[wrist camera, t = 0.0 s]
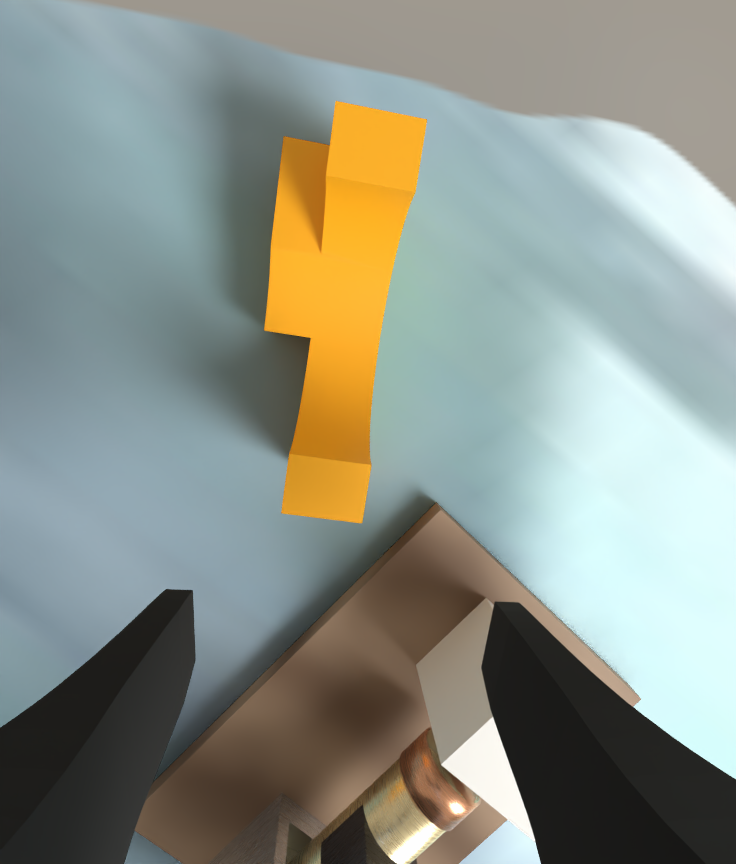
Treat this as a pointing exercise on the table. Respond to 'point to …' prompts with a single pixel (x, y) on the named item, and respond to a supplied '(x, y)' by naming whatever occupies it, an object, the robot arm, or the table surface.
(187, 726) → the table surface
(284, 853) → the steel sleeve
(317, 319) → the yellow u-shaped block
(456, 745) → the white square block
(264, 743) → the walnut board
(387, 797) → the block with brass knob
